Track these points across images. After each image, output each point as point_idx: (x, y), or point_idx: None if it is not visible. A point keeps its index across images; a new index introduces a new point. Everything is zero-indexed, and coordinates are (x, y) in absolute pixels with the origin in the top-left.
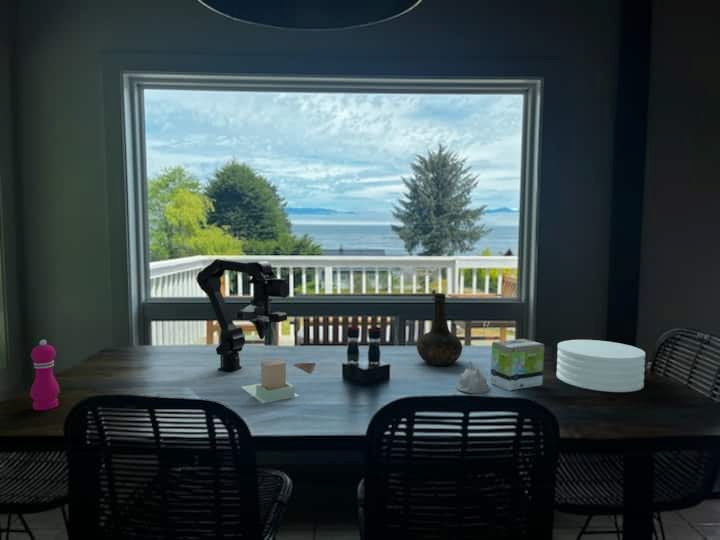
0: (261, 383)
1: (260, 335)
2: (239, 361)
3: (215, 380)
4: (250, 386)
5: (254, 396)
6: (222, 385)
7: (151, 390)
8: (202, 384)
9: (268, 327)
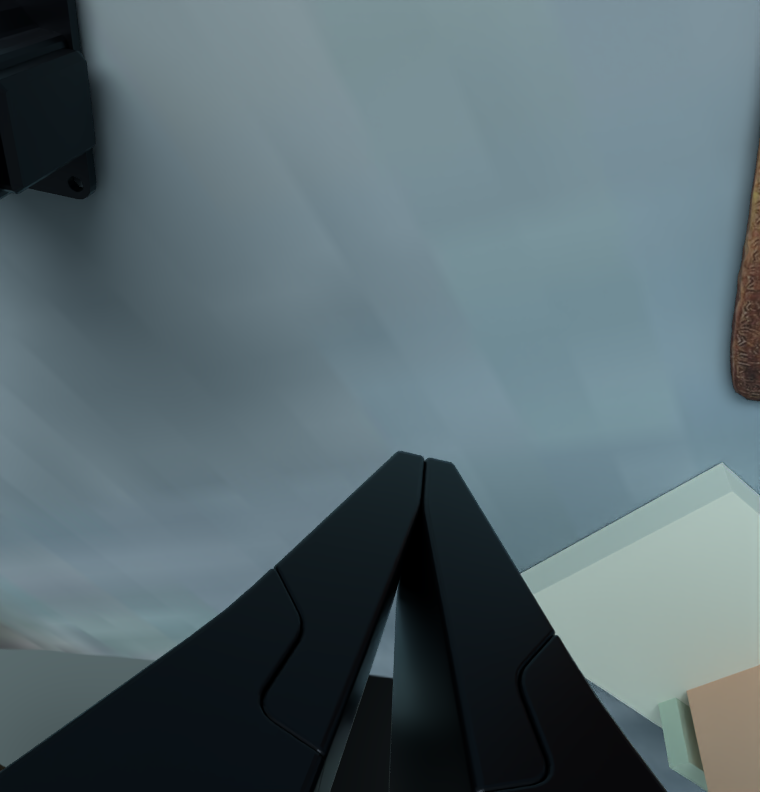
0: (704, 764)
1: (400, 595)
2: (41, 78)
3: (170, 430)
4: (559, 605)
5: (655, 721)
6: (300, 511)
7: (9, 607)
8: (160, 510)
9: (605, 712)
